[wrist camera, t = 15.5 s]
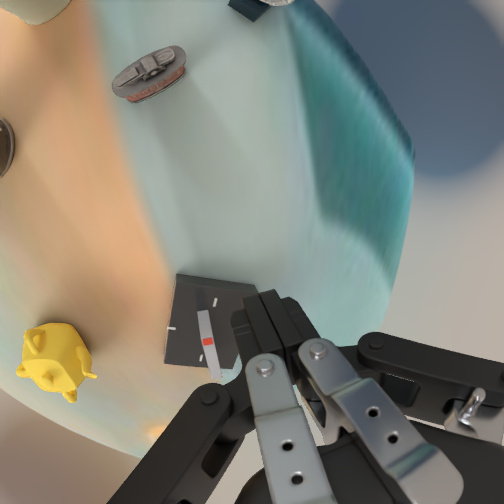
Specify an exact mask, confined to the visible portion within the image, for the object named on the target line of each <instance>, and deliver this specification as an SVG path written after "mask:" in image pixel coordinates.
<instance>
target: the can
mask: <svg viewBox="0 0 504 504" xmlns="http://www.w3.org/2000/svg"><path fill="white" fill-rule="evenodd" d="M70 1H71V0H0V7H1V8H3V9H4V10H6V11H8V12H10V13H12V14H14V15H15V16H17V17H19V18H20V19H22V20H23V21H24V22H25V23H27V24H29V25H39V24H42V23H45V22H47V21H49V20H51V19H52V18H54V17H55V16H57V15H58V14H59V13H60V12H61V11H62V10H63V9H64V8H65V7H66V6H67V5H68V4H69V2H70Z"/></svg>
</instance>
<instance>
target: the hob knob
mask: <svg viewBox="0 0 504 504" xmlns="http://www.w3.org/2000/svg"><path fill="white" fill-rule="evenodd" d="M197 314H198V321H199V329H200V336H201V341H202V345H203V349H204V353H205V356H206V360H207V364H208V367H209V371H210V375H211V378H212V379H216V378H221V377H222V373H221V368H220V364H219V359H218V354H217V349H216V345H215V340H214V336H213V331H212V326H211V322H210V317H209V312H208V310H203V311H198V312H197Z"/></svg>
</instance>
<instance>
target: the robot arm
mask: <svg viewBox="0 0 504 504" xmlns="http://www.w3.org/2000/svg"><path fill="white" fill-rule="evenodd" d="M14 149H15V139H14V134H13V130H12V128H11V126H10V124H9V123H8V122H7V121H6V120H5V119H3V118H1V117H0V178H1V177H2V176H3V175H4V174H5V173H6V171H7V170H8V168H9V167H10V165H11V162H12V159H13V155H14ZM241 300H242V305H243V309H241V310H237V311H233V312H232V315H231V319H230V322H231V326H232V330H233V334H234V338H235V341H236V345H237V349H238V352H239V355H240V359H241V362H242V370H241V372H240V374H239V375H238V376H237V377H236V378H235V379H234V380H232V381H231V382H229V383H227V384H225V385H221V384H217V383H208V384H204V385H202V386H200V387H198V388H197V389H196V390H194V392H193V393H192V394H191V395H190V397H189V398H188V400H187V401H186V402H185V404H184V405H183V406H182V408H181V409H180V410H179V412H178V413H177V414H176V416H175V417H174V418H173V420H172V421H171V422H170V424H169V425H168V426H167V428H166V429H165V430H164V432H163V433H162V434H161V435H160V437H159V438H158V439H157V441H156V442H155V443H154V445H153V446H152V447H151V448H150V450H149V451H148V452H147V454H146V455H145V456H144V457H143V459H142V460H141V461H140V463H139V464H138V465H137V466H136V468H135V469H134V470H133V471H132V473H131V474H130V475H129V476H128V478H127V479H126V480H125V481H124V483H123V484H122V485H121V486H120V488H119V489H118V490H117V491H116V493H115V494H114V495H113V496H112V497H111V499H110V500H109V501H108V502H107V503H106V504H205V503H206V501H207V500H208V498H209V497H210V495H211V494H212V492H213V490H214V489H215V487H216V486H217V484H218V482H219V481H220V479H221V478H222V476H223V474H224V473H225V471H226V469H227V468H228V466H229V464H230V463H231V461H232V459H233V458H234V456H235V454H236V453H237V451H238V449H239V447H240V446H241V444H242V442H243V440H244V438H245V435H246V434H247V433H249V432H251V431H252V430H254V429H256V432H257V436H258V441H259V445H260V450H261V455H262V460H263V464H264V468H262V469H261V470H259V471H258V472H257V473H256V474H254V475H253V476H252V477H251V478H250V479H249V480H248V482H247V483H246V484H245V485H244V487H243V488H242V490H241V492H240V494H239V496H238V498H237V500H236V501H235V503H234V504H504V446H502V445H501V443H502V438H503V433H504V363H501V362H496V361H492V360H487V359H483V358H478V357H474V356H469V355H465V354H461V353H457V352H453V351H449V350H445V349H441V348H437V347H433V346H429V345H425V344H422V343H417V342H414V341H410V340H406V339H403V338H399V337H395V336H391V335H388V334H384V333H381V332H370V333H367V334H365V335H363V336H362V337H361V338H360V339H359V341H358V345H354V346H345V347H337V346H335V344H334V343H333V342H331V341H330V340H327V339H324V338H321V337H320V336H319V334H318V332H317V331H316V329H315V328H314V326H313V325H312V323H311V322H310V320H309V319H308V317H307V316H306V314H305V312H304V311H303V310H302V308H301V306H300V305H299V303H298V302H297V301H295V300H294V299H292V298H290V297H286V298H282V299H280V297H279V295H278V293H277V292H276V290H275V289H272V290H269V291H265V292H261V293H258V294H253V295H249V296H246V297H242V298H241ZM389 374H391V375H389ZM393 375H394V376H393ZM396 376H397V377H396ZM399 377H401V378H399ZM403 378H404V379H403ZM406 379H408V380H406ZM410 380H411V381H410ZM413 381H414V382H413ZM295 384H296V385H297V388H298V390H299V392H300V394H301V399H302V400H303V402H304V404H305V406H306V408H307V409H308V411H309V413H310V414H311V416H312V418H313V419H314V421H315V423H316V425H317V426H318V428H319V430H320V431H321V433H322V436H323V439H324V443H325V445H324V446H316V444H315V441H314V438H313V435H312V433H311V430H310V427H309V425H308V421H307V418H306V416H305V413H304V410H303V408H302V407H301V406H300V405H299V403H298V401H297V398H296V395H295V392H294V389H293V386H292V385H295ZM404 415H407V416H410V417H414V418H417V419H420V420H424V421H428V422H431V423H435V424H439V425H443V426H444V427H445V430H443V429H440V428H436V427H432V426H430V425H426V424H423V423H420V422H417V421H413V420H408V419H407V418H406V417H405V416H404Z"/></svg>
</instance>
